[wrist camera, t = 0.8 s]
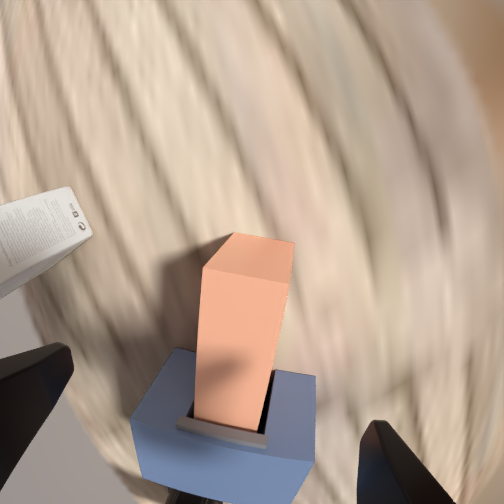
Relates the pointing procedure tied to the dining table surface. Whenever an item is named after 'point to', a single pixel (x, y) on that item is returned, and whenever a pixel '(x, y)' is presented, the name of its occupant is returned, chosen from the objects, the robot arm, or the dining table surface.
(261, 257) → the salmon pink prism
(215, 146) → the dining table surface
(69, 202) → the skincare box
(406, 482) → the robot arm
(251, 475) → the block
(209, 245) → the dining table surface
